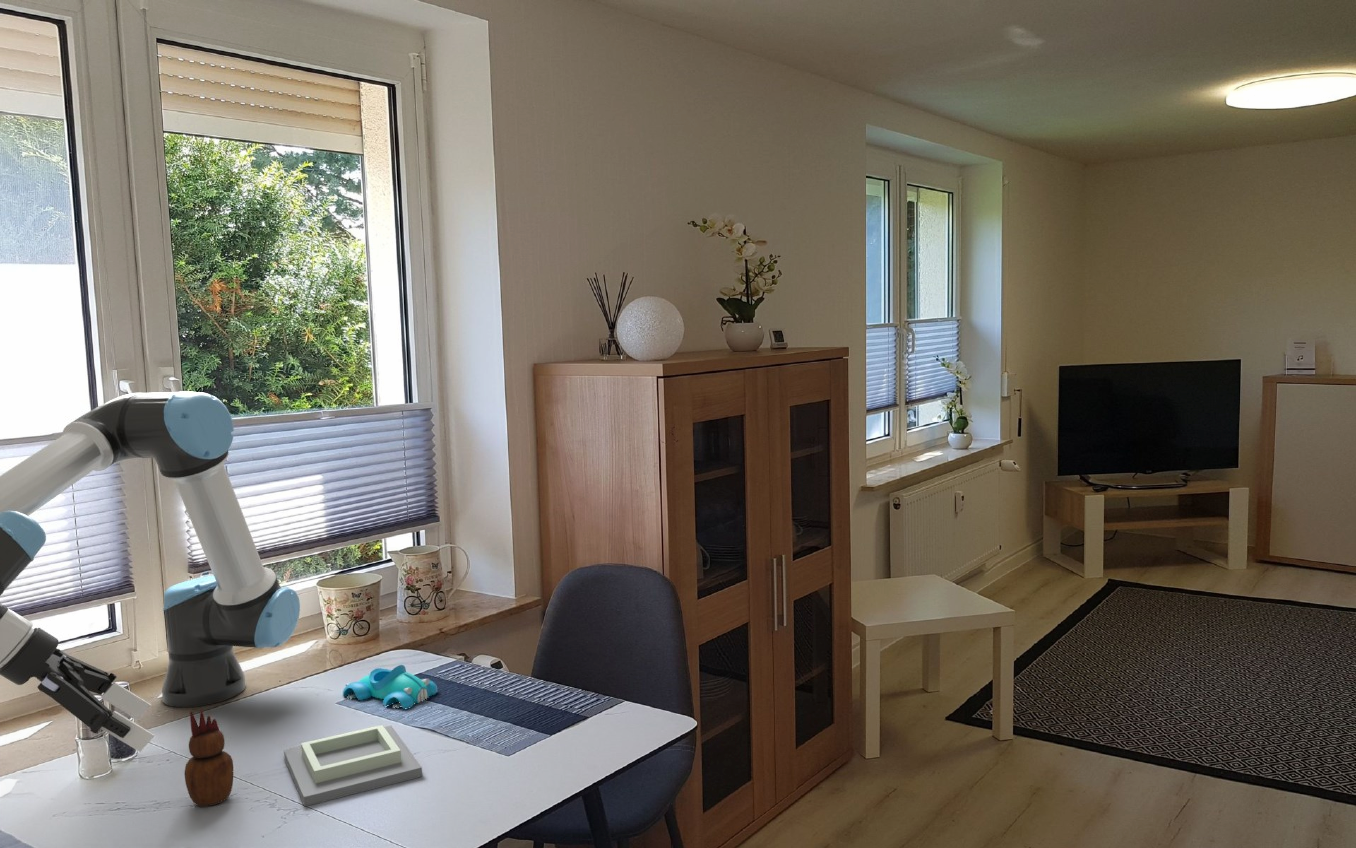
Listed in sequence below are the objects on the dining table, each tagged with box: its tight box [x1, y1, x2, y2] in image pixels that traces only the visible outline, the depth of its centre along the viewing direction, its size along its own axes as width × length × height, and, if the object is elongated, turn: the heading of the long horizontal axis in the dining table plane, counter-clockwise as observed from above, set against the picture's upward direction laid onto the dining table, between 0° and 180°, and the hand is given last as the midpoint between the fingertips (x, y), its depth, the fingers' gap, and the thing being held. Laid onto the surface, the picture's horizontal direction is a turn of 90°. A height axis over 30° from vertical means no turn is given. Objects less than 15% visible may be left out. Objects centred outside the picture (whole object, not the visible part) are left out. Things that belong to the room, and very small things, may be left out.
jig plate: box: [283, 724, 423, 807], centre depth 166 cm, size 20×18×4 cm
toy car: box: [342, 664, 438, 710], centre depth 198 cm, size 11×18×7 cm, turn 62°
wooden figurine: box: [184, 710, 234, 807], centre depth 155 cm, size 7×6×15 cm
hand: (146, 727), depth 150 cm, fingers open, 13 cm apart
